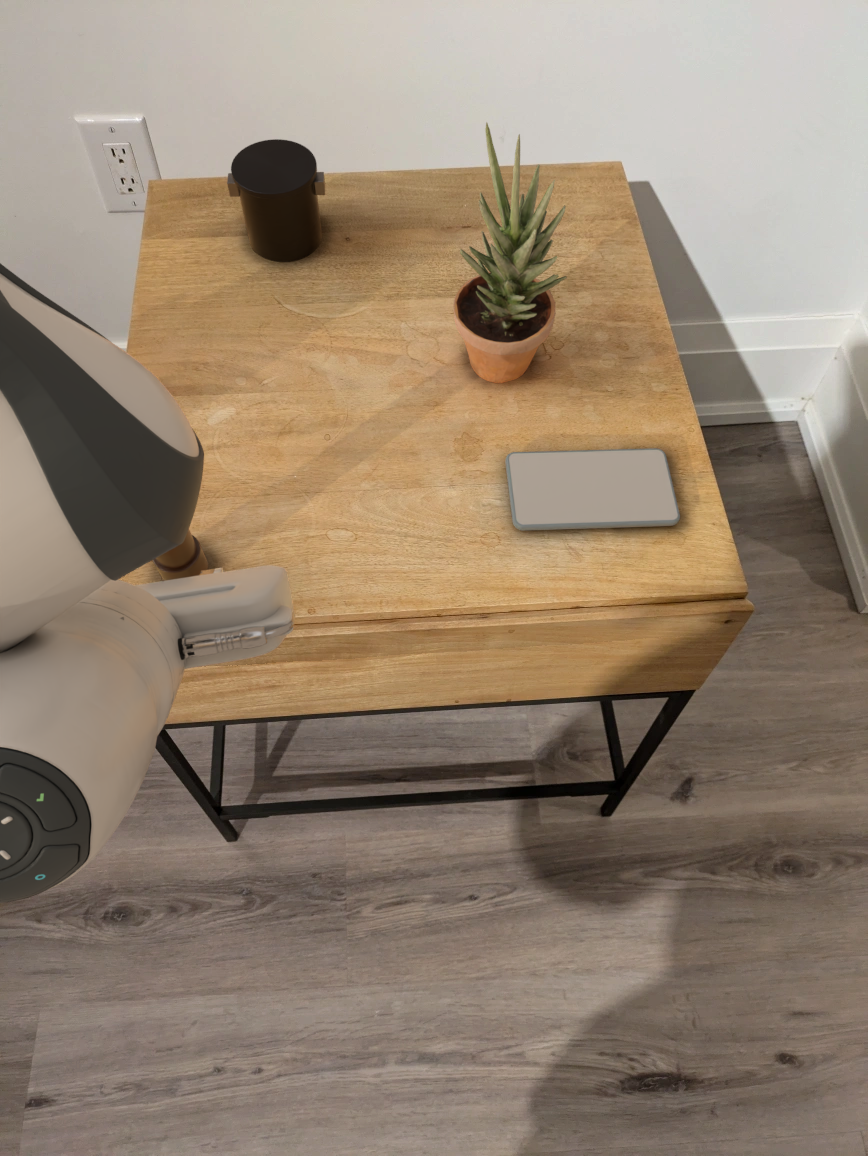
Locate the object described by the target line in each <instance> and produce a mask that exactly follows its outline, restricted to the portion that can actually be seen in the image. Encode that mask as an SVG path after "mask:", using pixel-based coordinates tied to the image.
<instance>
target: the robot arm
mask: <svg viewBox="0 0 868 1156" xmlns="http://www.w3.org/2000/svg"><path fill="white" fill-rule="evenodd" d="M204 463H205V452H204V447H203V445H202V443H201V440H200V438H199V437H198V435H197V433H196V432H195V431H194V428H193V426H192V425H191V422H190V421H189V418H188V417H187V415H186V413H185V412H184V410H183V409H182V407H181V406H180V404H179V402H178V401H177V400H176V398H175V397H174V396H173V394H172V393H171V392H170V390H169V389H168V388H167V387H166V385H164V384H163V382H162V381H161V380H160V379H159V378H158V377H157V376H156V375H155V374H154V373H153V372H152V371H151V370H150V369H148V368H147V367H146V366H145V365H144V364H143V363H142V362H140V361H139V360H138V359H137V358H136V357H134V356H132V355H131V354H130V353H128V352H127V351H126V350H124V349H123V348H121V347H119V346H118V345H117V344H115V343H113V342H112V341H111V340H109V339H108V338H107V337H106V336H104V335H103V334H102V333H100V332H99V331H97V330H96V329H95V328H93V327H91V325H89V324H87V323H86V322H85V321H83V320H81V319H80V318H79V317H77V316H76V315H74V314H72V313H71V312H70V311H68V310H67V309H65V308H63V307H62V306H61V305H59V304H58V303H56V302H55V301H53V300H52V299H51V298H49V297H48V296H46V295H45V294H43V293H42V292H40V291H38V290H37V288H36V289H35V288H34V287H33V286H31V285H30V284H29V283H27V282H26V281H25V280H23V279H22V278H20V277H19V276H18V275H16V274H15V273H14V272H12V270H10V269H9V268H7V267H6V266H4V265H3V264H2V263H1V262H0V904H5V903H6V904H7V903H10V902H16V901H20V900H21V901H22V900H25V899H29V898H32V897H35V896H37V895H40V894H42V893H44V892H47V891H49V890H51V889H53V888H56V887H57V886H58V885H60V884H61V885H62V883H65V882H67V881H68V880H70V879H72V877H74V876H76V875H77V874H78V873H79V872H80V871H82V870H83V869H85V868H86V867H87V866H88V865H89V864H90V863H91V862H92V861H93V860H94V859H95V858H96V857H97V856H98V854H99V853H100V852H102V850H103V848H104V847H105V846H106V845H107V843H108V842H109V840H110V839H111V838H112V836H113V835H114V834H115V832H116V831H117V829H118V827H119V826H120V824H121V823H122V822H123V820H124V818H125V816H126V815H127V813H128V812H129V810H130V808H131V806H132V804H133V802H134V800H135V798H136V796H137V795H138V793H139V791H140V789H141V786H142V784H143V782H144V780H145V777H146V776H147V772H148V770H149V767H150V765H151V762H152V760H153V757H154V753H155V750H156V745H157V740H158V737H159V735H160V733H161V731H162V730H163V728H164V726H165V724H166V722H167V720H168V718H169V715H170V713H171V710H172V707H173V706H174V705H173V704H174V702H175V699H176V697H177V694H178V691H179V689H180V686H181V683H182V681H183V678H184V674H185V670H186V669H194V668H199V667H200V668H201V667H206V666H213V665H220V664H225V663H230V662H231V663H232V662H236V661H242V660H248V659H252V658H257V657H261V656H264V655H266V654H269V653H271V652H273V651H274V650H276V649H277V648H279V646H281V644H282V643H283V642H284V641H285V639H286V638H287V636H288V635H290V634H291V633H292V632H293V630H294V629H295V624H296V614H295V608H294V601H293V595H292V589H291V583H290V577H289V575H288V571H287V569H286V568H285V567H284V566H280V565H275V564H266V565H265V564H264V565H257V566H252V567H246V568H239V569H231V570H224V568H223V567H217V568H211V569H210V568H208V570H203V571H201V573H200V574H199V575H198V576H192V577H185V578H178V579H172V580H165V581H164V580H159V581H153V582H146V583H139V584H133V583H130V582H128V581H124V580H121V579H122V578H123V577H125V576H127V575H129V574H130V573H132V572H135V571H136V570H137V569H139V568H141V567H143V566H145V565H147V564H149V563H150V562H153V559H155V558H157V557H159V556H161V555H162V554H164V553H166V552H168V551H170V550H171V549H173V548H175V547H177V546H178V545H180V544H182V543H183V542H184V540H185V537H186V535H187V532H188V530H190V527H191V524H192V521H193V519H194V516H195V512H196V509H197V505H198V501H199V497H200V493H201V492H200V491H201V486H202V482H203V481H202V480H203V473H204V465H205V464H204Z"/></svg>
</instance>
